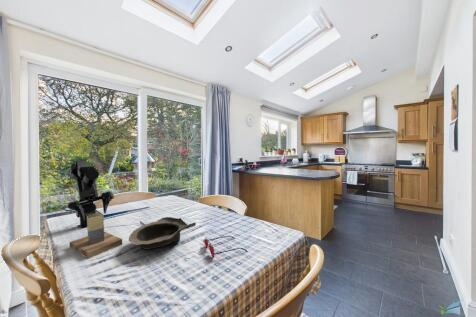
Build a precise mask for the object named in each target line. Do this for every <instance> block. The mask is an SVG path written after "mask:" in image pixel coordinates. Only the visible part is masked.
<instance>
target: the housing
mask: <svg viewBox="0 0 476 317" xmlns="http://www.w3.org/2000/svg"><path fill="white" fill-rule="evenodd" d="M86 229H87V236H88V241H89V244H94V243H98V242H101V241H104V232H105V223H104V213H102V212H101V211H99V212H96V213H94V214H89V215H87V227H86Z"/></svg>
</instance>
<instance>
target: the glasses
mask: <svg viewBox="0 0 476 317" xmlns="http://www.w3.org/2000/svg"><path fill="white" fill-rule="evenodd" d="M227 237H228V238H229V237H230V238H232V239H233V240H235V239H234V238H235V237H233V236H232V235H227V236H226V235H225V236H219V237H216V238H215V237H213V238H210V239H208V238H207V237H206V236H205V237H204V239H203V240H202V242H203V243H204V246H205V248H206V249H209V252H210V255H211V257H212V259H214V258H215V255H218V254H219V255H220V254H223V253H227V252H231V251H236V250H243V251H245V252H247V249H245V248H243V247H236V248H233V249H227V250H224V251H220V252H215V248H214V247H213V245H212V243H211V242H210V241H213V240H218V239H222V238H223V239H224V238H227Z"/></svg>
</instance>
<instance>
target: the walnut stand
mask: <svg viewBox="0 0 476 317" xmlns="http://www.w3.org/2000/svg"><path fill="white" fill-rule="evenodd" d="M123 244H124V243H123V239H122V238H121V237H118V236H116V235H113V234H112V233H109V232H107V231H104V241H101V242H98V243H94V244H89V241H88V235H87V236H84V237H80V238H77V239H74V240H71V241H69V248H70V249H72V250H74V251H75V252H77V253H78V254H80V255H82V256H83V257H85V258H87V259H90V258H93V257H96V256H97V255H100V254H102V253H105V252H108V251H110V250H112V249H114V248H116V247H120V246H121V245H123Z"/></svg>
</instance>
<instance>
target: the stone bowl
mask: <svg viewBox="0 0 476 317" xmlns="http://www.w3.org/2000/svg"><path fill="white" fill-rule="evenodd" d="M187 226H188V223H187V222H186V221H184V220H183V219H182V218H181V217H179V218H177V217H172V216H166V217H161V218H160V219H157V221H156V220H155V221H150V222H148V223H145V224H143V225H142V226H141V225H140V226H139V227H138V228H136V229H134V230H133V231H132V232H131V233H130V234H129V236H128V242H130V243H131V244H133V245H136V246H137V245H138V246H140V247H141V249H143V250H151V249H156V248H159V247H160V248H161V247H164V246H167V245H170V244H173V245H176V244H178V243H180V240H181V232H182V230H184V229H185V227H187Z"/></svg>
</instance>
